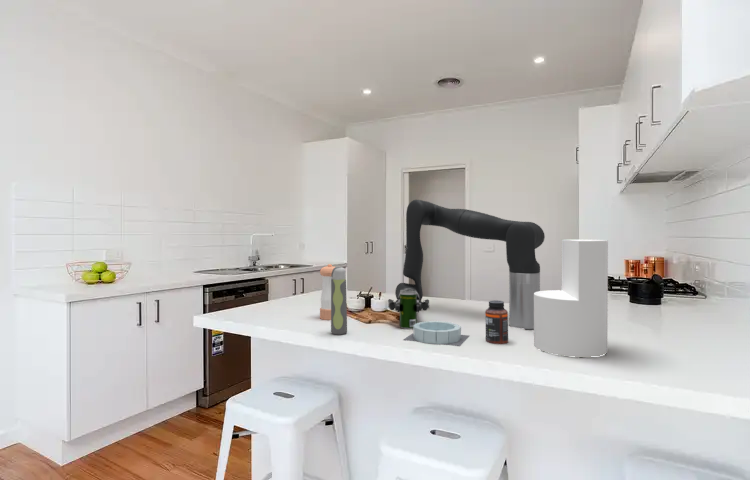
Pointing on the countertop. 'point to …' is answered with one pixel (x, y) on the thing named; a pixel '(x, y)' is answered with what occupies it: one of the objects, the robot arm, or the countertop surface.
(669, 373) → the countertop surface
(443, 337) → the bowl
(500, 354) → the countertop surface
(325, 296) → the salt shaker
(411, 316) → the beer can
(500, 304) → the supplement bottle
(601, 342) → the white stepped cylinder
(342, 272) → the patterned grey bottle
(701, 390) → the countertop surface
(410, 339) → the mat
